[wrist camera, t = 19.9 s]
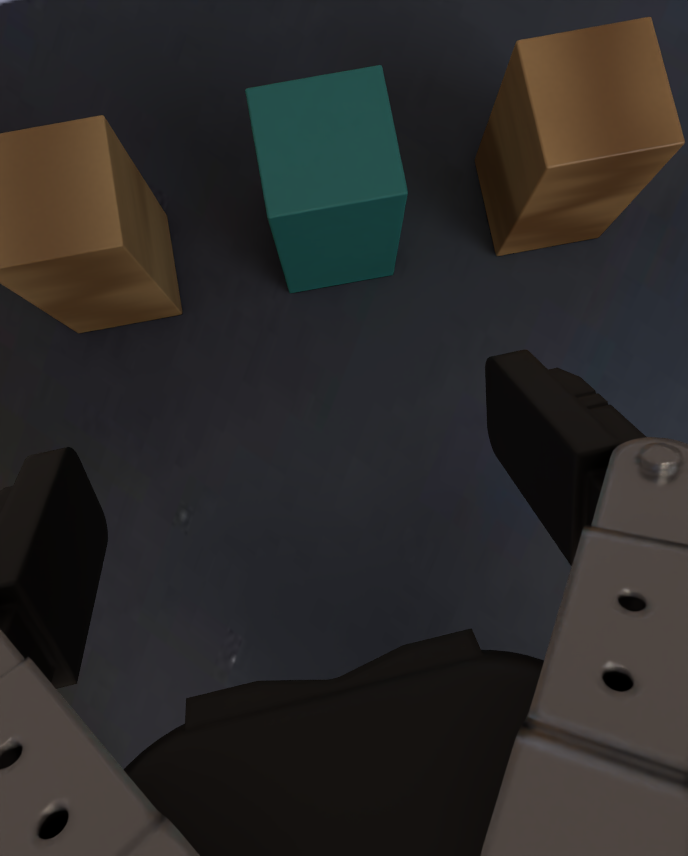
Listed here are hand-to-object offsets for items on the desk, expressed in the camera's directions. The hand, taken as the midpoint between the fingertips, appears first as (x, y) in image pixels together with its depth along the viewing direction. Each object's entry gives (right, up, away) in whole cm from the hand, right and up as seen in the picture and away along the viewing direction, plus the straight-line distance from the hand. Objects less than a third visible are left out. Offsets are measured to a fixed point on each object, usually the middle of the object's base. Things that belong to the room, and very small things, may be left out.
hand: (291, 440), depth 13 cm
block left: (-9, +8, +18) cm, 22 cm away
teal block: (0, +9, +18) cm, 20 cm away
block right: (+10, +11, +18) cm, 24 cm away
